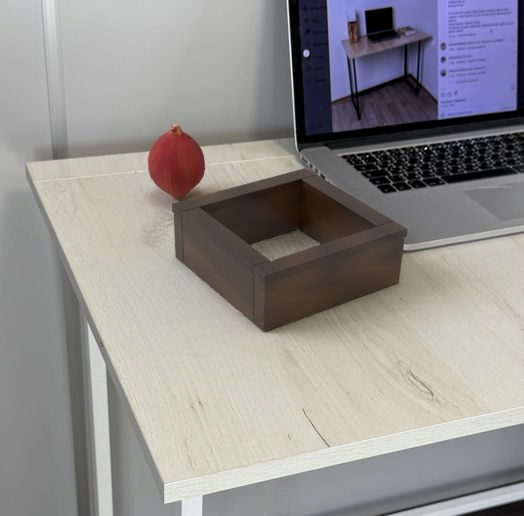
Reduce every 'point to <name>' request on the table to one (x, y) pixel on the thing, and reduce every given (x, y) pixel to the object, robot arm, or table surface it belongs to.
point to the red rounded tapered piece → (176, 163)
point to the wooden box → (294, 265)
